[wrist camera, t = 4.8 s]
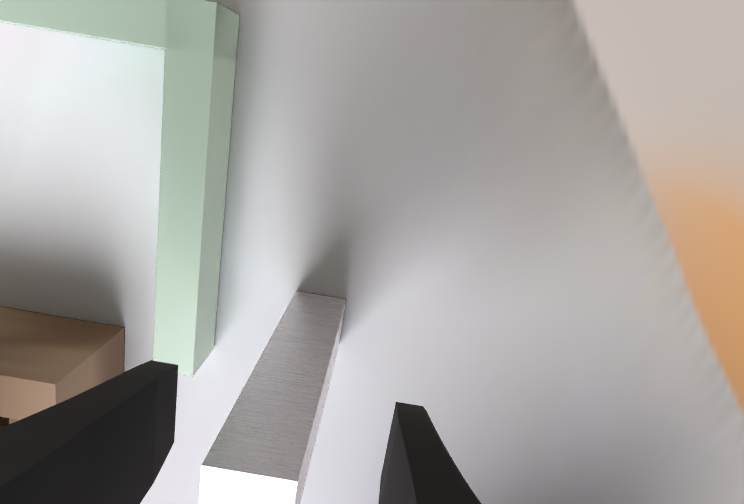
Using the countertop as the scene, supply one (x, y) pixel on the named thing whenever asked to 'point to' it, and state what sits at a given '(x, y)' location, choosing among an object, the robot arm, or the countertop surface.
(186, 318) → the green u-shaped bracket
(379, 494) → the robot arm
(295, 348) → the grey upright post
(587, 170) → the countertop surface
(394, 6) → the countertop surface
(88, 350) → the walnut block
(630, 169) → the countertop surface
